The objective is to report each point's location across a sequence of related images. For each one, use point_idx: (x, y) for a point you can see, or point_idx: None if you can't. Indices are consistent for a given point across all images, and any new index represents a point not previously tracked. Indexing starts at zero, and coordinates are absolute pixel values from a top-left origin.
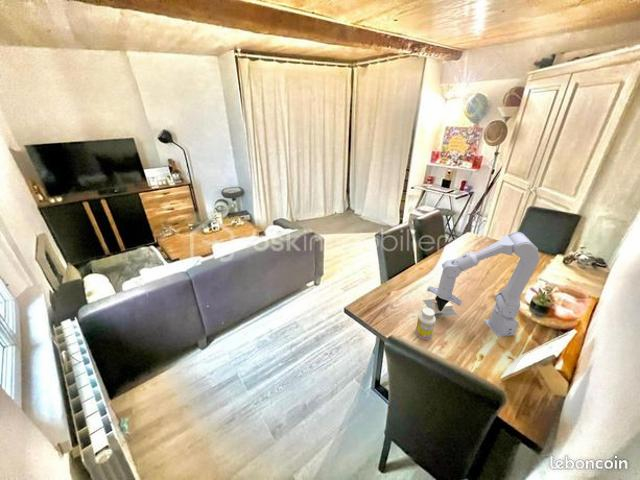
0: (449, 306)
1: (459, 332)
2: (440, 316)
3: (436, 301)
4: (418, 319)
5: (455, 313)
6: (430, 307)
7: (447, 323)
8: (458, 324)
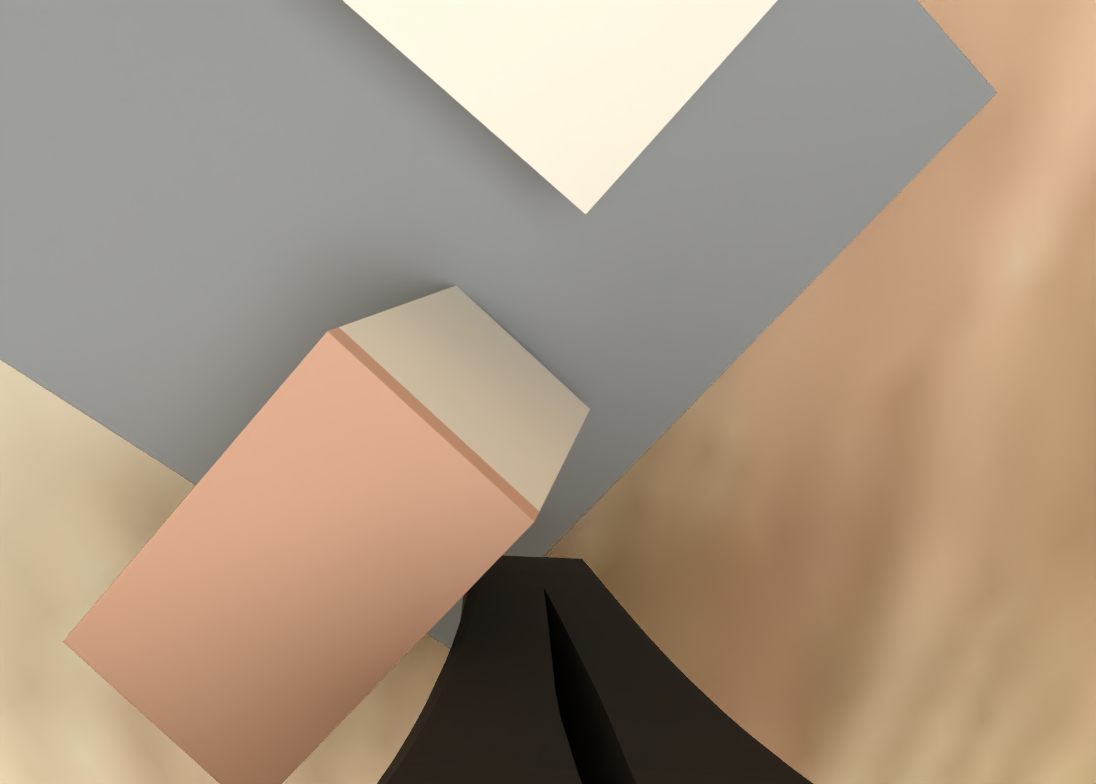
0: (730, 42)
1: (1070, 692)
2: (556, 534)
3: (217, 527)
4: None
5: (927, 74)
6: (124, 348)
7: (779, 610)
8: (1035, 463)
